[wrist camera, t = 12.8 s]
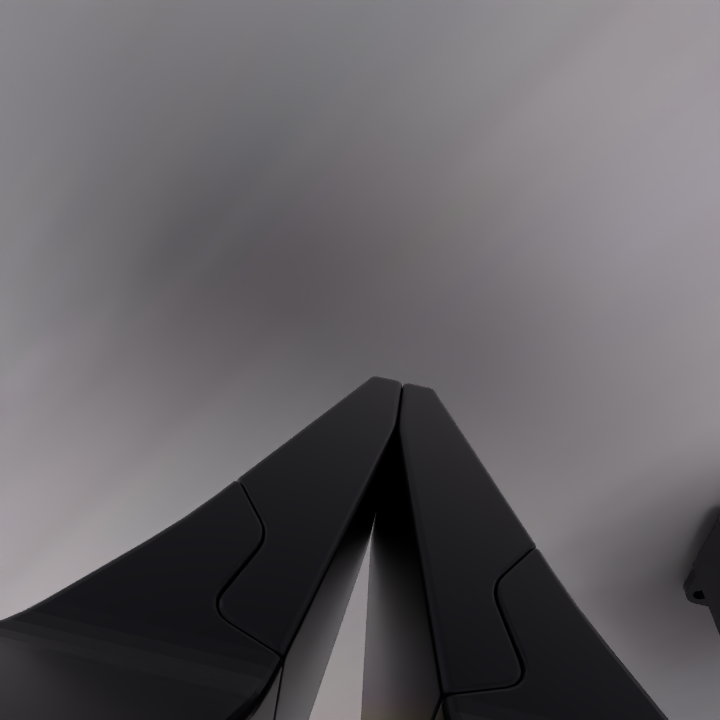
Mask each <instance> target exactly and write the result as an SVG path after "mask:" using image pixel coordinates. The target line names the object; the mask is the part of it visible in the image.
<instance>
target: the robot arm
mask: <svg viewBox="0 0 720 720" xmlns="http://www.w3.org/2000/svg"><path fill="white" fill-rule="evenodd" d="M374 519H375V520H374ZM373 523H374V525H373ZM372 527H373V532H372V538H371V549H370V565H369V583H368V601H367V620H366V638H365V656H364V674H363V692H362V711H361V720H668V718H667V717H666V716H665V715H664V713H663V712H662V711H661V710H660V709H659V707H658V706H657V705H656V704H655V702H654V701H653V700H652V699H651V698H650V696H649V695H648V694H647V693H646V691H645V690H644V689H643V688H642V686H641V685H640V684H639V683H638V682H637V680H636V679H635V678H634V677H633V675H632V674H631V673H630V672H629V671H628V669H627V668H626V667H625V666H624V664H623V663H622V662H621V661H620V660H619V658H618V657H617V656H616V655H615V653H614V652H613V651H612V650H611V649H610V647H609V646H608V645H607V643H606V642H605V641H604V640H603V638H602V637H601V636H600V634H599V633H598V632H597V631H596V629H595V628H594V627H593V625H592V624H591V623H590V622H589V620H588V619H587V618H586V616H585V615H584V614H583V613H582V611H581V610H580V609H579V607H578V606H577V605H576V603H575V602H574V600H573V599H572V598H571V596H570V595H569V593H568V592H567V590H566V589H565V588H564V586H563V585H562V583H561V582H560V580H559V579H558V578H557V576H556V575H555V573H554V572H553V570H552V569H551V567H550V566H549V564H548V563H547V561H546V560H545V558H544V557H543V555H542V554H541V552H540V551H539V550H538V549H535V548H536V546H535V543H534V542H533V540H532V539H531V537H530V536H529V534H528V533H527V531H526V530H525V528H524V527H523V525H522V524H521V522H520V521H519V519H518V518H517V516H516V514H515V513H514V511H513V510H512V508H511V507H510V505H509V504H508V502H507V501H506V499H505V498H504V496H503V495H502V493H501V492H500V490H499V489H498V487H497V486H496V484H495V483H494V481H493V480H492V478H491V476H490V475H489V473H488V472H487V470H486V469H485V467H484V466H483V464H482V463H481V461H480V460H479V458H478V457H477V455H476V454H475V452H474V451H473V449H472V448H471V446H470V445H469V443H468V441H467V440H466V438H465V437H464V435H463V434H462V432H461V431H460V429H459V428H458V426H457V425H456V423H455V422H454V420H453V419H452V417H451V416H450V414H449V413H448V411H447V410H446V408H445V406H444V405H443V403H442V402H441V400H440V399H439V397H438V396H437V394H436V393H435V391H434V390H433V389H431V388H427V387H423V386H418V385H413V384H405V385H404V386H403V387H402V385H401V383H400V382H398V381H395V380H390V379H386V378H381V377H372V378H370V379H369V380H368V381H366V382H365V383H364V384H363V385H361V386H360V387H359V388H357V389H356V390H355V391H353V392H352V393H351V394H349V395H348V396H347V397H345V398H344V399H343V400H341V401H340V402H339V403H337V404H336V405H335V406H333V407H332V408H331V409H330V410H328V411H327V412H326V413H324V414H323V415H322V416H320V417H319V418H318V419H316V420H315V421H314V422H312V423H311V424H310V425H308V426H307V427H306V428H304V429H303V430H302V431H300V432H299V433H298V434H297V435H295V436H294V437H293V438H291V439H290V440H289V441H287V442H286V443H285V444H283V445H282V446H281V447H279V448H278V449H277V450H275V451H274V452H273V453H271V454H270V455H269V456H267V457H266V458H265V459H264V460H262V461H261V462H260V463H258V464H257V465H256V466H254V467H253V468H252V469H250V470H249V471H248V472H246V473H245V474H244V475H242V476H241V477H240V478H239V479H238V480H237V481H234V482H233V483H231V484H230V485H229V486H227V487H226V488H225V489H223V490H222V491H221V492H219V493H218V494H217V495H216V496H214V497H213V498H211V499H210V500H208V501H207V502H206V503H204V504H203V505H201V506H200V507H198V508H197V509H196V510H194V511H193V512H191V513H190V514H189V515H187V516H186V517H184V518H183V519H181V520H179V521H178V522H176V523H174V524H173V525H171V526H170V527H168V528H166V529H165V530H163V531H161V532H160V533H158V534H157V535H155V536H153V537H152V538H150V539H149V540H147V541H145V542H143V543H142V544H140V545H138V546H137V547H135V548H133V549H131V550H130V551H128V552H126V553H124V554H123V555H121V556H119V557H118V558H116V559H114V560H112V561H111V562H109V563H107V564H106V565H104V566H102V567H100V568H99V569H97V570H95V571H93V572H92V573H90V574H88V575H87V576H85V577H83V578H81V579H80V580H78V581H76V582H74V583H73V584H71V585H69V586H68V587H66V588H64V589H62V590H61V591H59V592H57V593H55V594H54V595H52V596H50V597H49V598H47V599H45V600H43V601H41V602H39V603H38V604H36V605H34V606H32V607H30V608H28V609H26V610H24V611H22V612H19V613H17V614H15V615H13V616H10V617H8V618H6V619H3V620H0V720H309V717H310V714H311V711H312V708H313V705H314V702H315V699H316V696H317V693H318V690H319V688H320V685H321V682H322V679H323V676H324V673H325V670H326V667H327V664H328V661H329V658H330V655H331V652H332V649H333V646H334V644H335V641H336V638H337V635H338V632H339V629H340V626H341V623H342V620H343V617H344V614H345V611H346V608H347V605H348V602H349V600H350V597H351V594H352V591H353V588H354V585H355V582H356V579H357V576H358V573H359V570H360V567H361V564H362V561H363V558H364V556H365V553H366V549H367V546H368V543H369V539H370V536H371V531H372ZM683 588H684V591H685V594H686V597H687V599H688V600H689V601H690V602H692V603H695V604H700V605H705V606H709V609H710V611H711V614H712V617H713V619H714V622H715V624H716V627H717V629H718V632H719V634H720V519H719V520H718V521H717V523H716V525H715V526H714V528H713V530H712V532H711V533H710V535H709V537H708V539H707V540H706V542H705V544H704V546H703V547H702V549H701V551H700V553H699V554H698V556H697V558H696V560H695V561H694V563H693V569H692V571H691V573H690V574H689V576H688V578H687V580H686V581H685V583H684V586H683ZM698 590H700V591H698Z"/></svg>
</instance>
